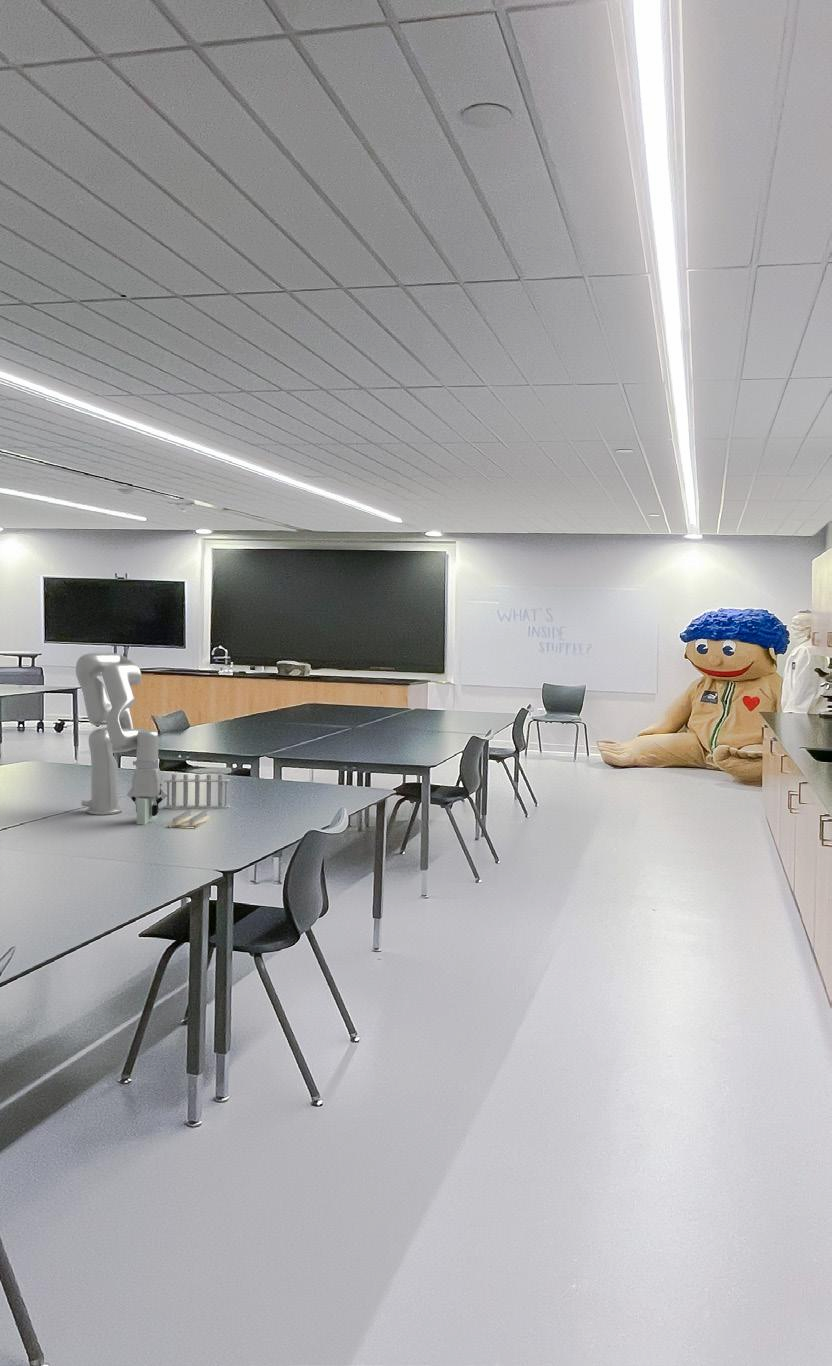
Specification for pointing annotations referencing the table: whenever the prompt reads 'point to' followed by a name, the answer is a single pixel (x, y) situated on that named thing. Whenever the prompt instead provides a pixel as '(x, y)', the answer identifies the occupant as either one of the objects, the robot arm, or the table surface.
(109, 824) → the table surface
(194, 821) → the bottom track
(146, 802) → the door panel
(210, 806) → the test tube rack
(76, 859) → the table surface
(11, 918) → the table surface
